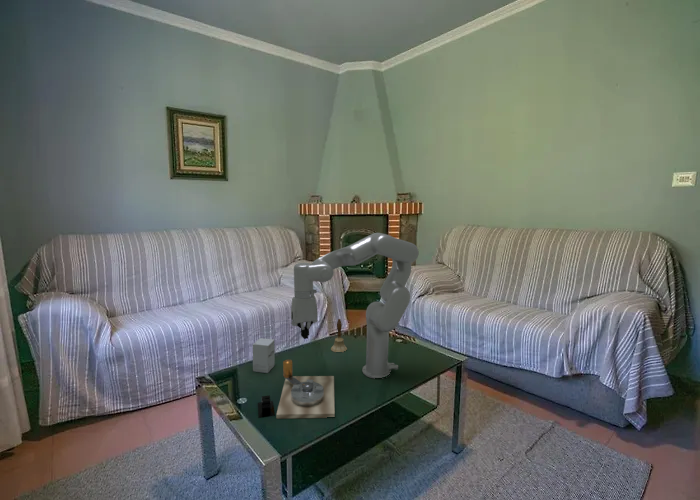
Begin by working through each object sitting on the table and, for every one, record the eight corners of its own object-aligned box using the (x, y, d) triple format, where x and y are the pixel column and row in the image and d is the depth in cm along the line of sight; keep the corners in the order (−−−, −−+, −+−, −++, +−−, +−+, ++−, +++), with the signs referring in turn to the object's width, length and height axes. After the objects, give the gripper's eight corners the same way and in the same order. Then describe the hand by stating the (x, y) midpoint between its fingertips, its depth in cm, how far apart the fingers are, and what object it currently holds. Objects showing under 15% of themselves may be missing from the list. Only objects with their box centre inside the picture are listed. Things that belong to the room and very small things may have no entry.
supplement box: (268, 373, 148) (267, 345, 147) (252, 371, 150) (251, 344, 148) (275, 365, 155) (275, 339, 154) (260, 363, 157) (259, 337, 155)
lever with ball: (330, 398, 127) (330, 376, 126) (303, 410, 119) (303, 387, 118) (298, 375, 144) (298, 355, 142) (272, 385, 136) (272, 364, 134)
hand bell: (346, 353, 170) (347, 322, 168) (330, 352, 170) (330, 321, 168) (347, 346, 178) (347, 316, 176) (331, 345, 179) (331, 316, 176)
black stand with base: (277, 419, 118) (277, 406, 118) (255, 422, 116) (255, 409, 116) (274, 399, 130) (274, 388, 129) (254, 402, 128) (254, 390, 127)
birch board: (333, 379, 145) (333, 375, 144) (334, 417, 119) (334, 413, 119) (286, 379, 143) (286, 375, 143) (276, 418, 118) (276, 414, 117)
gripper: (318, 289, 143) (319, 331, 146) (283, 294, 137) (284, 337, 140) (324, 294, 136) (325, 337, 139) (288, 298, 130) (289, 344, 133)
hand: (305, 337), depth 139 cm, fingers closed
